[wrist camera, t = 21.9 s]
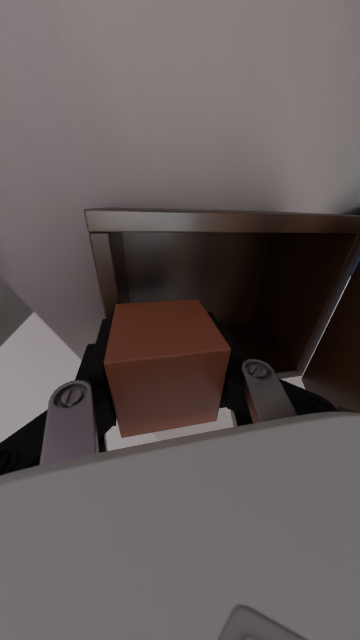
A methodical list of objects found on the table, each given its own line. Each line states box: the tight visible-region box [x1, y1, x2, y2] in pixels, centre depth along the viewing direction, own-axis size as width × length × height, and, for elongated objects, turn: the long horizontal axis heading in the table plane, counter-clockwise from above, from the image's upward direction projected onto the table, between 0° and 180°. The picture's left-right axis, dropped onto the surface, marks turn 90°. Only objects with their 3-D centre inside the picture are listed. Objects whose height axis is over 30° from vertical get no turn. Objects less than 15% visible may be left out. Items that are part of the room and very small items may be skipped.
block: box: [104, 299, 231, 438], centre depth 9 cm, size 4×4×4 cm
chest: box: [84, 208, 360, 379], centre depth 17 cm, size 16×13×9 cm
